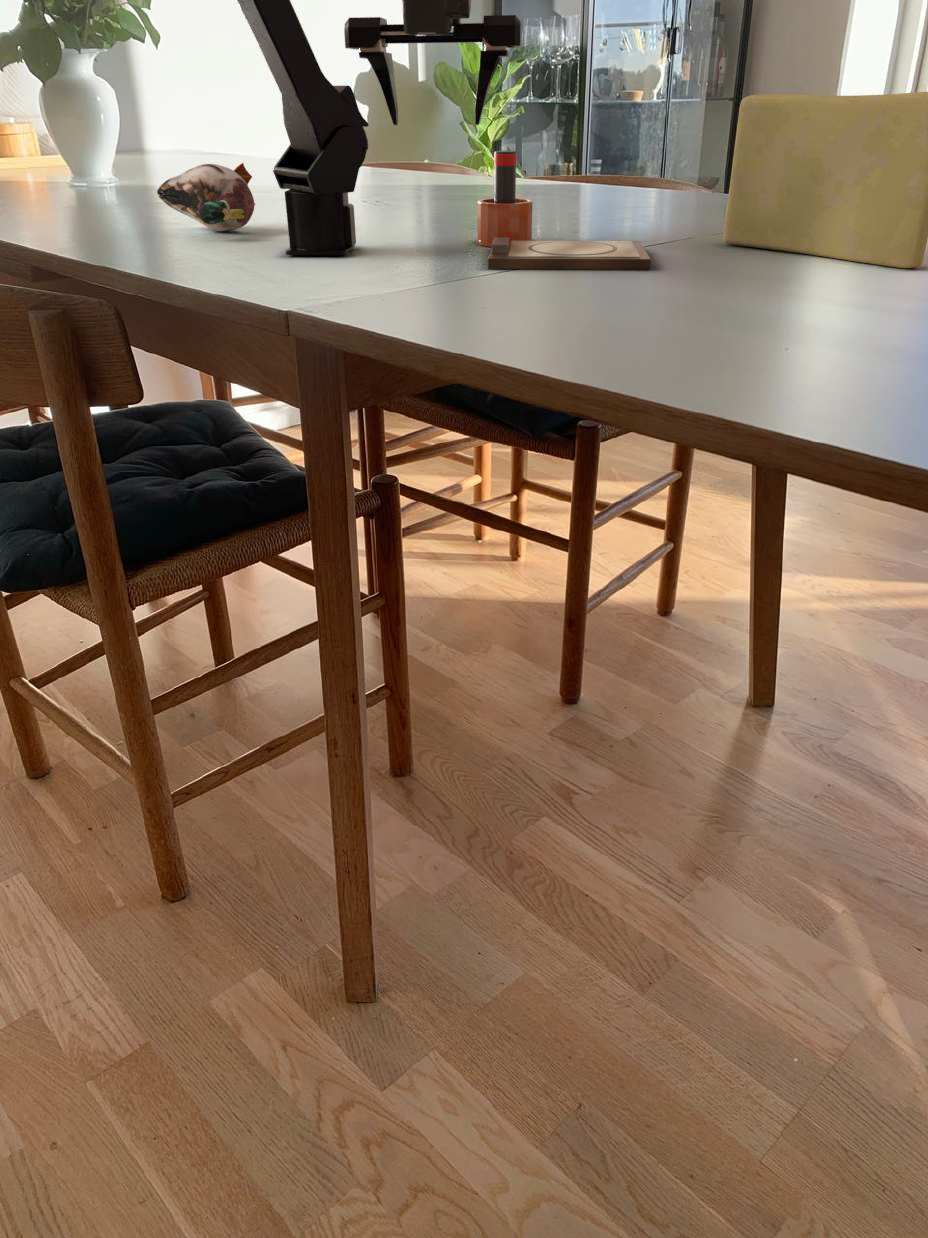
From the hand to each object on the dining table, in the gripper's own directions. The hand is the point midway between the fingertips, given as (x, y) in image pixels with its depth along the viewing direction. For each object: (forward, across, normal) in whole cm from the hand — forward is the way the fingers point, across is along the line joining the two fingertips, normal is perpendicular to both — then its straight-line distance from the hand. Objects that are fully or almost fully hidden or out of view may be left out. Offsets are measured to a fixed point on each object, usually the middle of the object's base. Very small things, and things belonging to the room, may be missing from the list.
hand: (436, 124), depth 103 cm
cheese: (+12, +42, -10) cm, 45 cm away
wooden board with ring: (+12, +15, -14) cm, 24 cm away
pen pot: (+12, +8, -3) cm, 15 cm away
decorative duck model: (+12, -30, +5) cm, 33 cm away
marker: (+12, +8, -3) cm, 14 cm away
